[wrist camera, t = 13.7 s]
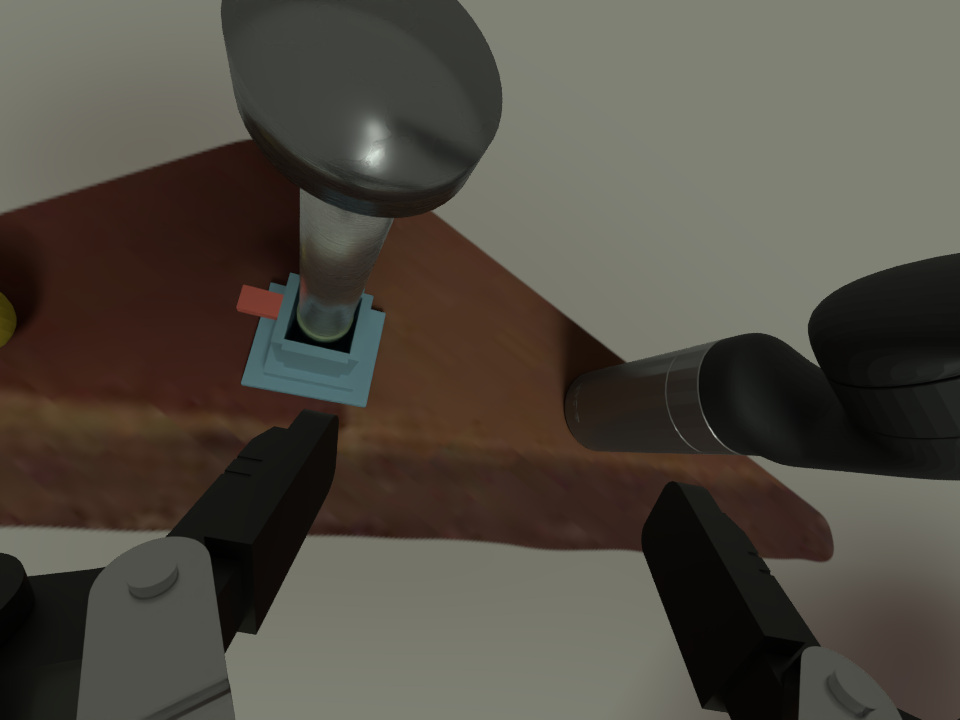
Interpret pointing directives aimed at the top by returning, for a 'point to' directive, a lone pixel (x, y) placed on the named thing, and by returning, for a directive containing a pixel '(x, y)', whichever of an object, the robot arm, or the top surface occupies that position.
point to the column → (360, 125)
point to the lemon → (6, 320)
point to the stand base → (309, 348)
